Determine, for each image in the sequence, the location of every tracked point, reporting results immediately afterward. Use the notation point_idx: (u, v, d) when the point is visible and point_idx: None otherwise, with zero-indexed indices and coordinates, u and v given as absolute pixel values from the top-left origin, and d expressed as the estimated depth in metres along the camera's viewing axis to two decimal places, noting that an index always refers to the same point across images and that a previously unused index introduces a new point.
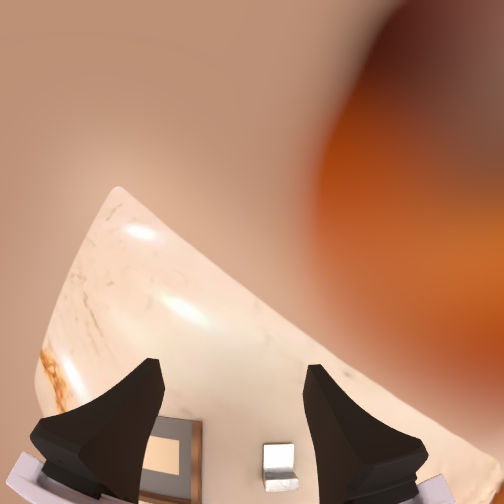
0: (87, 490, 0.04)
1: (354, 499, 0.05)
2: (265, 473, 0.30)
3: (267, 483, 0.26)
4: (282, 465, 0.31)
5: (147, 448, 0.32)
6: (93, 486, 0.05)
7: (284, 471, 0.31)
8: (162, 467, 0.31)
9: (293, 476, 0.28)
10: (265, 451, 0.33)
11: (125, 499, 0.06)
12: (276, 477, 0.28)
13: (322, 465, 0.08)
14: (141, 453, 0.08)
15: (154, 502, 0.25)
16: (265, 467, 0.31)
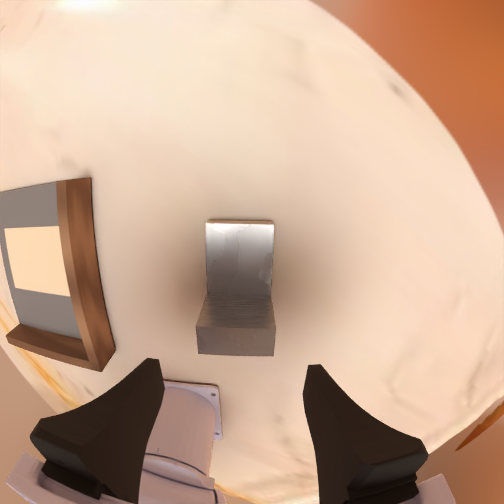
0: (87, 490, 0.04)
1: (354, 499, 0.05)
2: (209, 295, 0.19)
3: (200, 334, 0.15)
4: (247, 276, 0.19)
5: (26, 252, 0.19)
6: (93, 486, 0.05)
7: (251, 292, 0.19)
8: (49, 284, 0.20)
9: (266, 316, 0.16)
10: (208, 239, 0.18)
11: (125, 499, 0.06)
12: (225, 315, 0.16)
13: (322, 465, 0.08)
14: (141, 453, 0.08)
15: (47, 355, 0.19)
16: (210, 279, 0.19)
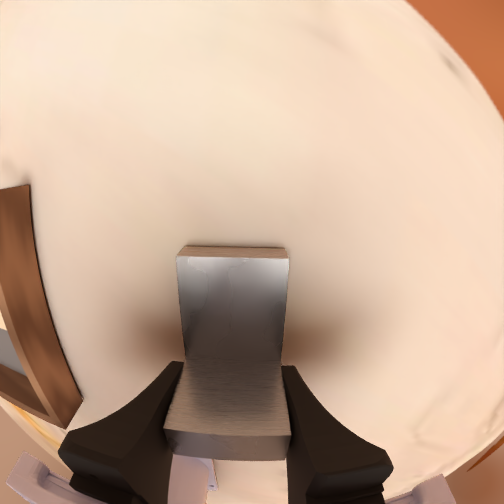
0: (122, 503, 0.04)
1: None
2: (188, 361, 0.12)
3: (171, 437, 0.08)
4: (245, 335, 0.12)
5: None
6: (129, 498, 0.05)
7: (251, 358, 0.12)
8: (0, 318, 0.13)
9: (275, 408, 0.09)
10: (182, 281, 0.11)
11: None
12: (211, 406, 0.09)
13: (290, 468, 0.08)
14: (169, 459, 0.08)
15: (8, 399, 0.12)
16: (188, 339, 0.12)
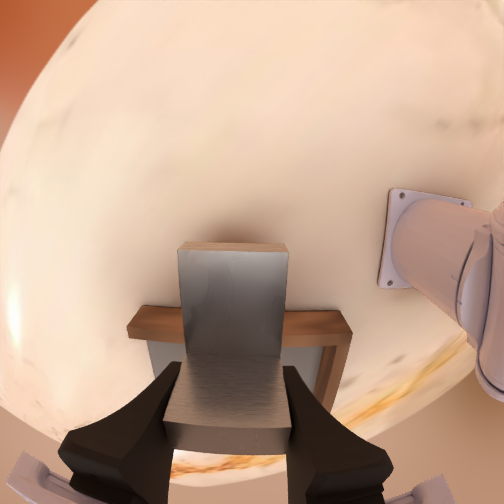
0: (122, 503, 0.04)
1: None
2: (188, 356, 0.12)
3: (171, 430, 0.08)
4: (245, 330, 0.12)
5: None
6: (129, 498, 0.05)
7: (252, 352, 0.12)
8: None
9: (275, 401, 0.09)
10: (183, 275, 0.11)
11: None
12: (211, 399, 0.09)
13: (290, 468, 0.08)
14: (169, 459, 0.08)
15: (331, 399, 0.19)
16: (189, 333, 0.12)
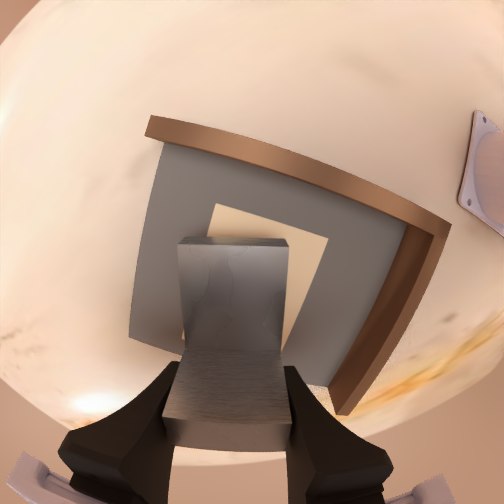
0: (122, 503, 0.04)
1: None
2: (188, 351, 0.12)
3: (170, 426, 0.08)
4: (245, 325, 0.12)
5: None
6: (129, 498, 0.05)
7: (252, 348, 0.12)
8: (295, 278, 0.16)
9: (275, 397, 0.09)
10: (183, 269, 0.11)
11: None
12: (210, 395, 0.09)
13: (290, 468, 0.08)
14: (169, 459, 0.08)
15: (399, 333, 0.13)
16: (188, 329, 0.12)
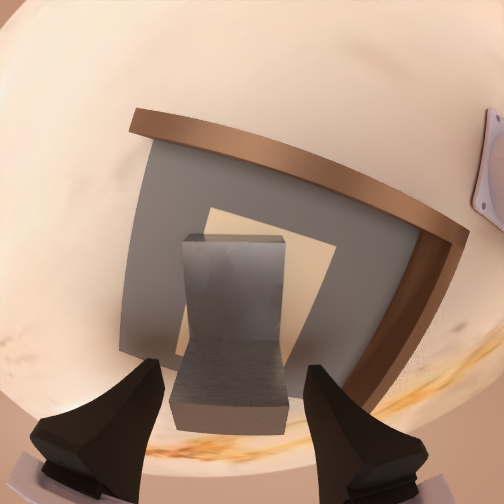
0: (87, 490, 0.04)
1: (354, 499, 0.05)
2: (192, 342, 0.13)
3: (176, 410, 0.09)
4: (246, 316, 0.13)
5: None
6: (93, 486, 0.05)
7: (252, 338, 0.13)
8: (299, 290, 0.14)
9: (274, 382, 0.10)
10: (187, 264, 0.12)
11: (125, 499, 0.06)
12: (214, 381, 0.10)
13: (322, 465, 0.08)
14: (141, 453, 0.08)
15: (412, 348, 0.12)
16: (192, 320, 0.13)
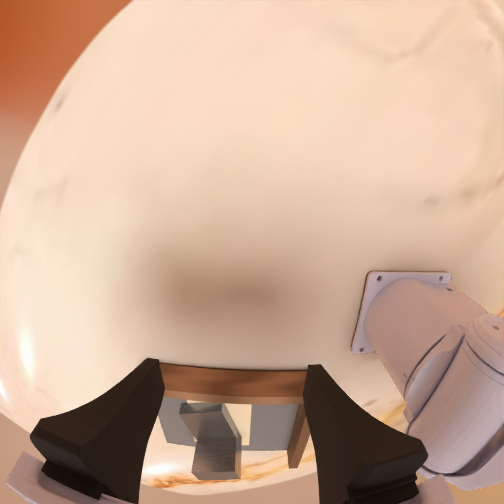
0: (87, 490, 0.04)
1: (354, 499, 0.05)
2: (198, 443, 0.23)
3: (195, 474, 0.20)
4: (217, 432, 0.23)
5: None
6: (93, 486, 0.05)
7: (223, 438, 0.23)
8: (241, 415, 0.24)
9: (230, 461, 0.21)
10: (184, 420, 0.23)
11: (125, 499, 0.06)
12: (207, 462, 0.21)
13: (322, 465, 0.08)
14: (141, 453, 0.08)
15: (305, 438, 0.22)
16: (195, 435, 0.24)
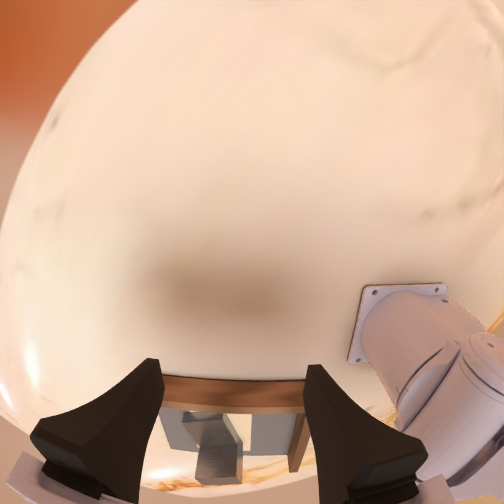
0: (87, 490, 0.04)
1: (354, 499, 0.05)
2: (200, 449, 0.24)
3: (198, 479, 0.20)
4: (218, 439, 0.24)
5: None
6: (93, 486, 0.05)
7: (225, 445, 0.24)
8: (242, 423, 0.25)
9: (232, 466, 0.21)
10: (187, 428, 0.23)
11: (125, 499, 0.06)
12: (210, 467, 0.21)
13: (322, 465, 0.08)
14: (141, 453, 0.08)
15: (304, 444, 0.22)
16: (198, 442, 0.24)
